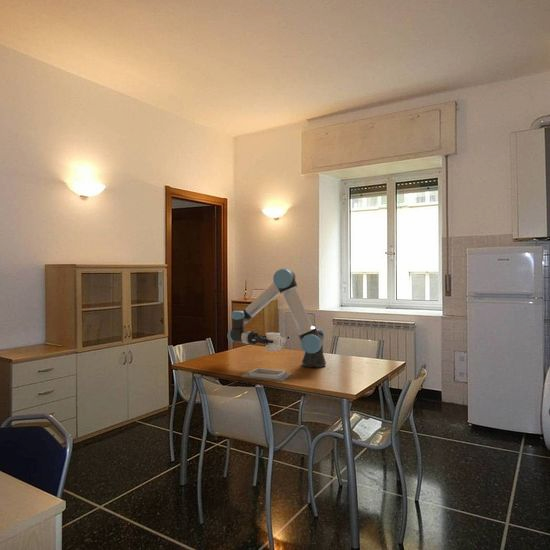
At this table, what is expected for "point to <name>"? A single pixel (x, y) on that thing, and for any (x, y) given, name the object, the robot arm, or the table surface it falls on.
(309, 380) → the table surface
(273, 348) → the cup
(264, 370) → the rail plate
